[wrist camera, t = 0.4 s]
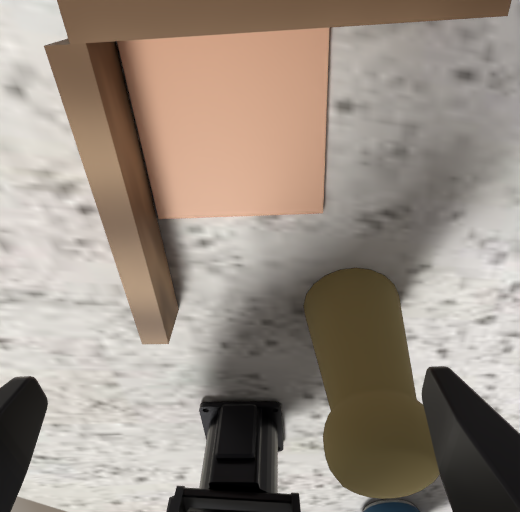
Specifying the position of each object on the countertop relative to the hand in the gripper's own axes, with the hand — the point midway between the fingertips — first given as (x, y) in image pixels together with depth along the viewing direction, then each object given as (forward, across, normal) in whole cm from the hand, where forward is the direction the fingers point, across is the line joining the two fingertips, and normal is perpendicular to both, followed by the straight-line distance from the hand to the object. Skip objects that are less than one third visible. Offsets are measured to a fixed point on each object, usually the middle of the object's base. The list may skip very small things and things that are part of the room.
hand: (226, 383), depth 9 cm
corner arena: (+14, 0, +2) cm, 14 cm away
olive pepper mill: (+14, -5, +10) cm, 18 cm away
